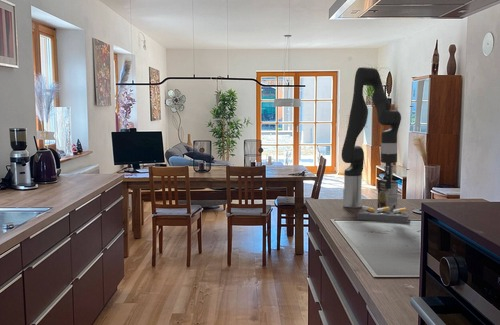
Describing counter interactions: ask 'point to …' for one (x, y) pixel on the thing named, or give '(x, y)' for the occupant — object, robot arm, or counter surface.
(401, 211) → the right rocker
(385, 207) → the middle rocker
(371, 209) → the left rocker
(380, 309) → the counter surface
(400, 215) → the power strip
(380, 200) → the coffee box
